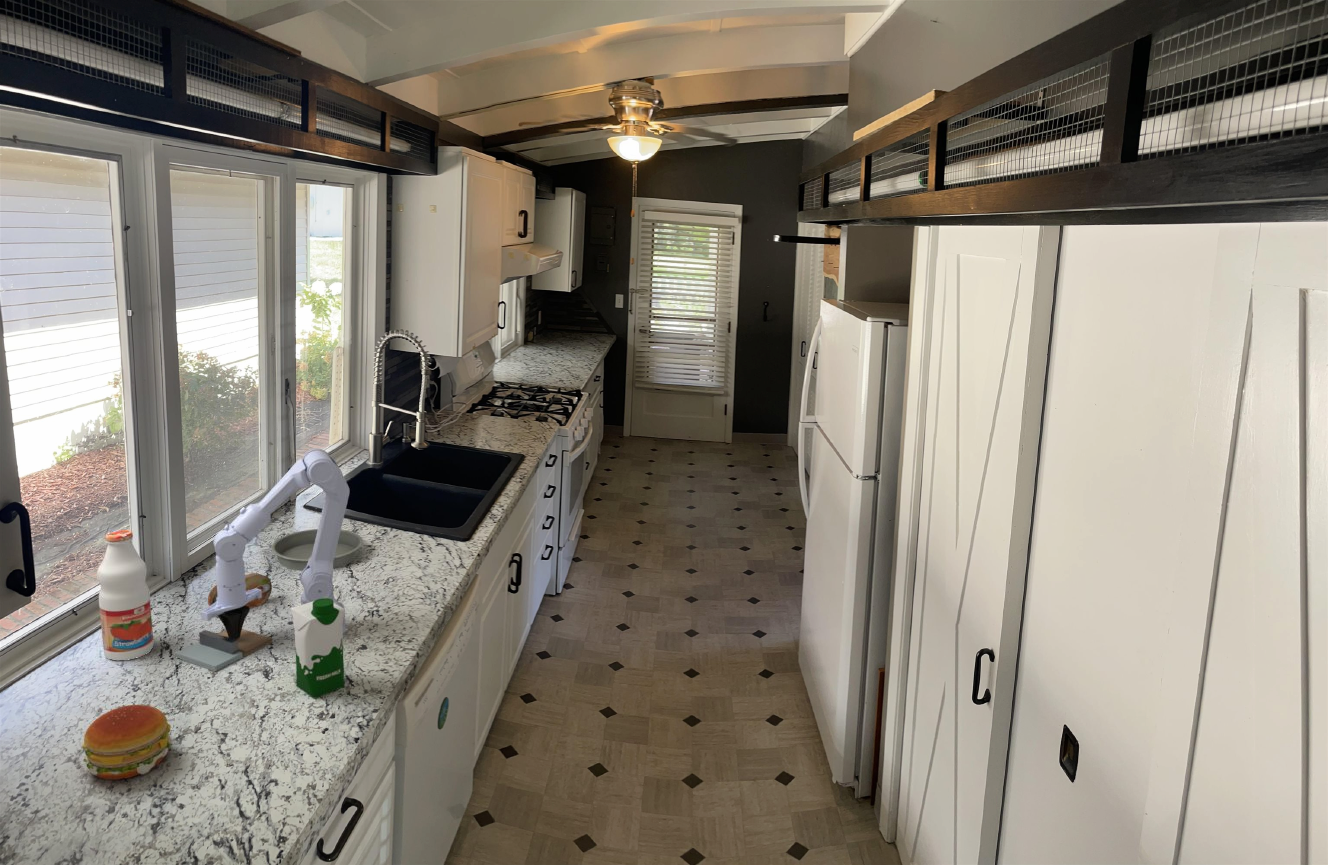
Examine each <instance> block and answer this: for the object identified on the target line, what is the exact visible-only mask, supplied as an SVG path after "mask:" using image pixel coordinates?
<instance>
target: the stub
mask: <svg viewBox="0 0 1328 865" xmlns="http://www.w3.org/2000/svg"><path fill="white" fill-rule="evenodd" d="M198 635H199V636H198V637H199V641H198V642H196V643H193V644H192V645H190V646H187V647H186V648H183V649H181V650H179V651H177V652H175V655H174V656H175V658H176V657H177V658H180V659H182V660H181V661H183V660H185V661H184V662H186V661H188V662H187V663H189V662H190V663H189V664H192V665H195V664H196V665H195V666H198V667H202V668H204V669H207V670H210V671H213V672H215V671H216V672H217V671H219V670H221V669H223V668H225V667H227V666H229V665H231V664H232V663H235V662H237V661H239V660H241V659H243V658H244V657H243V656H242V652H239V651H238V640H235V639H232V638H229V637H226V636H223V635H219V633H215V632H212V631H209V630H206V629H204V630H201V631H199V634H198ZM177 658H176V659H177ZM180 659H179V660H180ZM228 664H229V665H228Z"/></svg>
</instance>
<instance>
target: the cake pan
mask: <svg viewBox="0 0 1328 865" xmlns="http://www.w3.org/2000/svg"><path fill="white" fill-rule="evenodd" d="M317 531H318V528H313V529H305V530H301V531H295V532H293V533H289V534H286V535H283V536H281V537H279V538H278V539H277V540H275V541H274V542H273V543H272V544H271V552H272V553H273V554H274V555H275V556H276V557H277V560H278V561H277V562H278V563H279V564H280V566H282V567H284V568H286V569H289V570H293V571H300V572H302V571H303V570H304V569H305V568H306V566H307V564H308V560H309V558H310V557H311V556H312V552H313V548H314V544H315V539H316V535H317ZM363 544H364V539H363V538H362V536H360V534H357V533H355V532H353V531H350V530H346V529H345V530H344V529H341V531H340V535H339V539H338V544H337V548H336V552H335V556H334V561H333V569H337V568H341V567H343V566H346V565H349V564H351V563H352V562H353V561H355V559H356V558H357V557H358V553H359V550H360V548H361V547H362V546H363Z"/></svg>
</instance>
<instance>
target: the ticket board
mask: <svg viewBox="0 0 1328 865" xmlns="http://www.w3.org/2000/svg"><path fill="white" fill-rule="evenodd" d="M218 634H219V635H223V636H226V637H228V634H227V631H226V629H225V630H224V631H220V632H218ZM236 640H238V651H239V652H242V656H243V658H244V657H247V656H249V655H251V654H253V653H254V652H256V651H259V650H260V649H262V648H264V647H266V646H269V645H270V644H272V643H273V637H270V636H266V635H263V634H260V633H257V632H254V631H250V630H247V629H244V628H242V630H241V635H240V638H238V639H236Z"/></svg>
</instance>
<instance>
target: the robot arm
mask: <svg viewBox="0 0 1328 865" xmlns="http://www.w3.org/2000/svg"><path fill="white" fill-rule="evenodd" d="M303 455H304V456H303V457H302V458H299V459H298V460H297V461H296V462H295V463H294V464H293V465H292V466H291V468H290V469H289V470H288V471H287V472H286V473H285V474H284V475H283V476H282V478H280V480H279V481H278V482H277V483H276V484H275V485H274V486H273V488H271V490H270V491H269V492H268V493H267V494H266V495H265V496H264V497H263V498H262V500H260V502H257V503H250V504H249V505H248V506H247V507H245V506H243V507H242V508H241V509H240V510H239V515H238V516H237V517H235V519H234V520H233V521H232V522H230V524H226V525H225V526H224V527H223V528H224V529H221V530H220V531H218V532H217V533H216V535H215V536H214V540H213V541H212V542H213V543H212V544H213V546H214V552H215V554H216V555H215V562H216V563H215V574H216V585H217V593H218V597H217V598H216V600H217V601H216V602H215V603H214V604H212V605H211V606H210V607H209V606H208V607H207V608H206V609H203V610H202V611H200V614H201V615H200V616H201V620H202V621H205V622H210V621H212V620H213V618H216V617H218V618H219V620H220V621H221V623H222V624H223V626H224V628H225V630H226V631H227V634H228V637H229V638H232V639H235V640H236V639H238V638H240V635H241V630H242V629H243V626H244V623H245V621H246V619H247V617H248V614H249V613H251V612H250V611H251V608H250V607H248V606H245V605H246V604H247V603H248V602H249V601H252V600H254V599H256V598H257V599H260V598H262V590H260V589H256V588H255V589H252V590H249V591H246V583H245V575H246V570H245V569H246V568H245V567H246V566H245V561H244V556H243V555H244V554H245V550H246V545H247V544H249V543H250V542H252V540H253V539H254V538H255V537H256V536H257V535H258V534H259V533H260V532H262V530H263V529H264V528H265V527H267V525H268V524H270V522H271V521H272V518H271V513H273V512H274V511H275V510H276V509H277V508H278V507H279V506H280V505H281V504H283V503H284V502H285V501H286V500H287V499H288V498H289V497H290V496H291V495H292V494H293V493H295V492H296V491H297V490H299V489H308V488H312V486H311V483H312V484H314V485H315V486H317V487H319V488H321V490H322V491H323V492H324V493H325V497H324V501H323V505H322V506H323V507H322V510H321V514H320V519H319V523H318V527H317V529H318V531H317V535H316V539H315V544H314V548H313V552H312V556H311V557H310V558H309V560H308V564H307V566H306V568H305V569H304V570H303V571H301V574H300V576H299V580H300V584H301V585H302V587H303V588H302V589H303V592H302V593H301V596H300V605H303V604H306V603H309V602H313V601H315V600H318V599H322V598H329V599H332V600H333V602H334V603H335V604H337V605H339V606H340V607H342V608H343V609H344V617H343V634H344V633H347V632H348V628H347V627H346V614H345V612H346V609H345V606H344V604H343V603H341V602H340V601H339V600H337V599H336V598H335V596H334V591H335V588H334V587H335V586H334V583H333V577H334V568H333V561H334V556H335V552H336V548H337V544H338V539H339V535H340V531H341V530H342V525H343V523H344V518H345V514H346V510H347V505H348V500H349V497H350V487H349V485H348V482H347V481H346V479H345V476H344V474H343V472H342V470H341V468H340V467H339V465H338V463H337V462H336V460H335V459H334V457H332V456H331V455H330V454H329V453H328V452H327V451H326V450H324V449H322V448H313V449H310V450H308V451H307V452H306V453H305V454H303ZM293 635H294V636H295V631H294V632H293Z"/></svg>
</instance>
